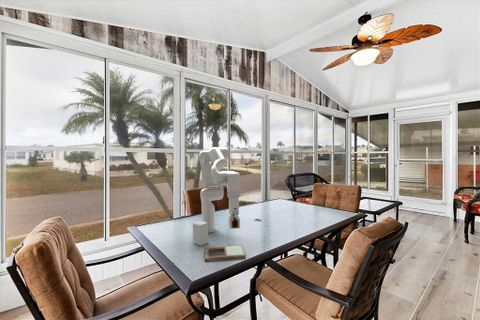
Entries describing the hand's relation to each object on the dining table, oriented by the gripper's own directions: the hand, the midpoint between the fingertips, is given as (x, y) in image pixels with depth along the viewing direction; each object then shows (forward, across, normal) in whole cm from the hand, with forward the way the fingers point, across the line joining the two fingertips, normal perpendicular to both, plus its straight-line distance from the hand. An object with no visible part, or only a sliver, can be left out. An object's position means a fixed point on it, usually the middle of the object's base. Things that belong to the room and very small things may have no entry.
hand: (234, 225), depth 126 cm
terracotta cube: (+1, 0, 0) cm, 1 cm away
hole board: (+16, 0, -6) cm, 17 cm away
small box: (+16, -19, -20) cm, 32 cm away
